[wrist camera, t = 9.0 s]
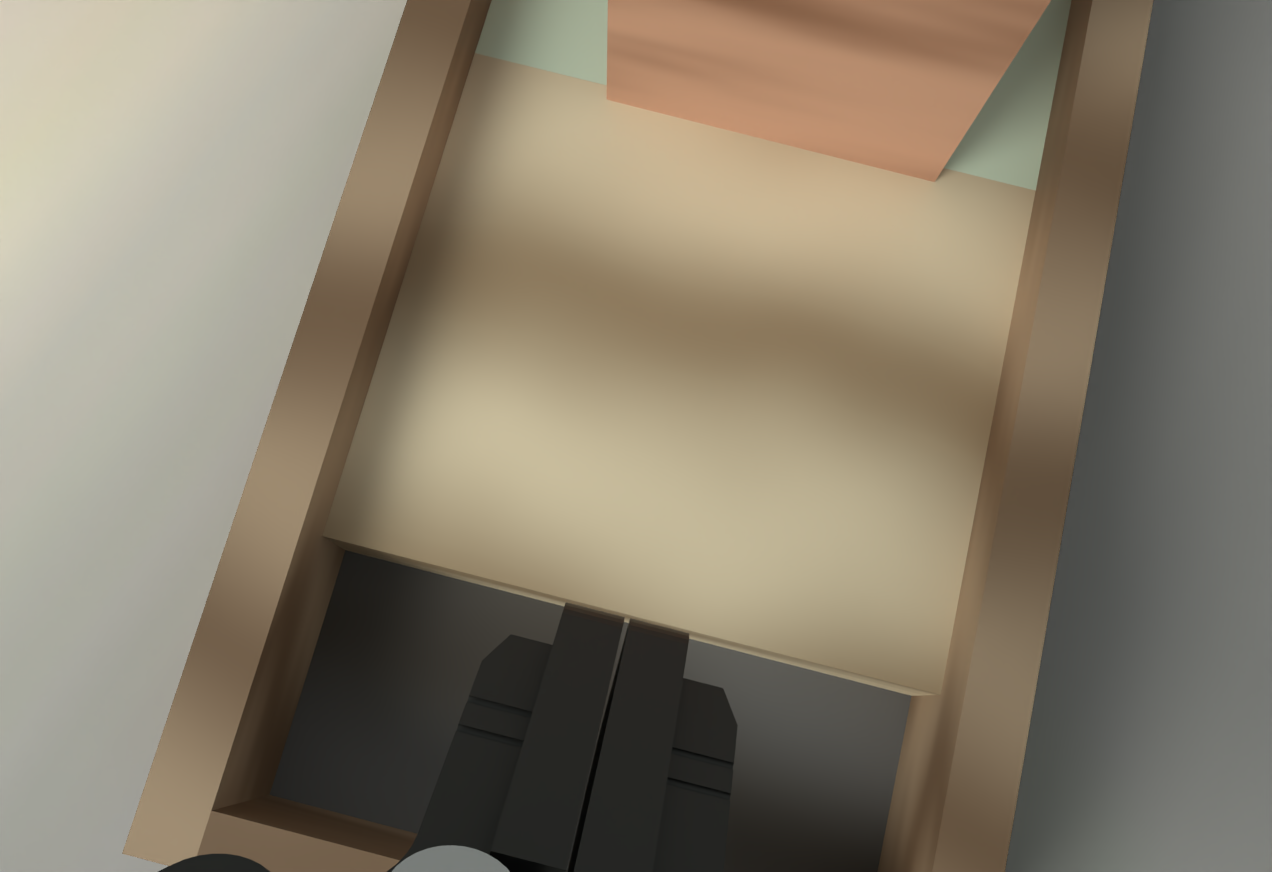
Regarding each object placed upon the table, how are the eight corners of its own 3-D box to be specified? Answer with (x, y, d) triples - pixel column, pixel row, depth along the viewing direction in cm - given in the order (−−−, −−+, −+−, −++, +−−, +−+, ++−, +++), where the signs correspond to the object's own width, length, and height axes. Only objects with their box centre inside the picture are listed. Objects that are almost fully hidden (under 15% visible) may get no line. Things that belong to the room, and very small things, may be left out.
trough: (906, 1015, 23) (969, 1078, 19) (201, 829, 24) (122, 853, 20) (1154, -331, 31) (1236, -483, 27) (614, -457, 31) (616, -625, 27)
